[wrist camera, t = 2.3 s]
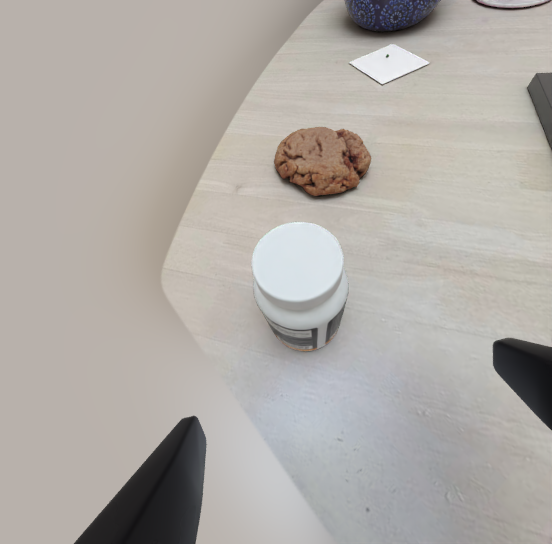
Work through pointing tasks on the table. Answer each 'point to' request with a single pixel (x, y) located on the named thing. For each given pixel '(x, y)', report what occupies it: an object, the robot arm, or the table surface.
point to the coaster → (388, 63)
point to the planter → (389, 13)
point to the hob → (543, 100)
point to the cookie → (322, 160)
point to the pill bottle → (300, 284)
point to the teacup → (511, 3)
